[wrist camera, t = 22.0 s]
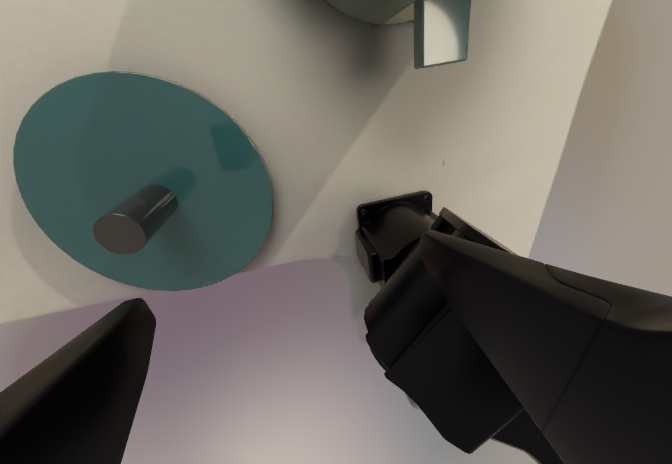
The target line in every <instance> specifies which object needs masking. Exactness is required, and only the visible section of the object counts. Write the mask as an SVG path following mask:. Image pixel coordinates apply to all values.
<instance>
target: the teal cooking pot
mask: <svg viewBox="0 0 672 464" xmlns="http://www.w3.org/2000/svg"><path fill="white" fill-rule="evenodd" d="M325 1H326V2H327V3H328V4H330V5H331V6H333V7H334V8H336V9H337V10H339V11H340V12H342V13H344V14H346V15H348V16H350V17H353V18H355V19H357V20H361V21H364V22H368V23H373V24H378V25H387V24H400V23H404V22H408V21H412V20H414V68H415V69H421V68H427V67H433V66H439V65H445V64H450V63H456V62H462V61H465V60H466V59H467V49H468V35H469V20H470V6H471V0H325Z"/></svg>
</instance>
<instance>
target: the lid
mask: <svg viewBox="0 0 672 464" xmlns="http://www.w3.org/2000/svg"><path fill="white" fill-rule="evenodd" d="M14 171H15V177H16V182H17V185H18V188H19V191H20V194H21V197H22V199H23V201H24V203H25V205H26V207H27V209H28V211H29V212H30V214H31V215H32V217H33V218H34V220H35V221H36V223H37V224H38V226H39V227H40V228H41V229H42V230H43V231H44V233H45V234H46V235H47V236H48V237H49V238H50V239H51V240H52V241H53V242H54V243H55V244H56V245H57V246H58V247H59V248H60V249H61V250H63V251H64V252H65V253H67V254H68V255H69V256H71V257H72V258H73V259H74V260H76V261H78V262H79V263H81V264H82V265H84V266H86V267H87V268H89V269H91V270H93V271H95V272H97V273H99V274H101V275H103V276H105V277H108V278H110V279H113V280H115V281H118V282H121V283H124V284H128V285H131V286H136V287H140V288H145V289H153V290H166V291H169V290H170V291H177V290H189V289H195V288H201V287H204V286H208V285H211V284H214V283H217V282H219V281H221V280H224V279H226V278H228V277H229V276H231V275H233V274H235V273H236V272H238V271H239V270H240V269H242V268H243V267H244V266H245V265H246V264H247V263H249V262H250V261H251V260H252V259H253V257H254V256H255V255H256V254H257V252H258V251H259V250H260V248H261V246H262V245H263V243H264V241H265V239H266V237H267V234H268V232H269V229H270V225H271V220H272V213H273V191H272V186H271V181H270V176H269V174H268V171H267V168H266V165H265V163H264V161H263V159H262V157H261V155H260V153H259V151H258V149H257V147H256V146H255V144H254V143H253V141H252V140H251V138H250V137H249V136H248V134H247V133H246V132H245V131H244V130H243V128H242V127H241V126H240V125H239V124H238V123H237V122H236V121H235V120H234V119H233V118H232V117H231V116H230V115H229V114H228V113H227V112H225V111H224V110H223V109H222V108H220V107H219V106H218V105H216V104H215V103H214V102H212V101H211V100H209V99H208V98H206V97H204V96H202V95H201V94H199V93H197V92H196V91H194V90H192V89H189V88H187V87H185V86H183V85H180V84H178V83H176V82H173V81H170V80H166V79H163V78H160V77H157V76H151V75H146V74H141V73H135V72H118V71H111V72H99V73H91V74H87V75H83V76H79V77H75V78H73V79H70V80H68V81H65V82H63V83H61V84H58V85H57V86H55V87H54V88H52V89H51V90H49V91H48V92H46V93H45V94H43V95H42V96H41V97H40V98H39V99H38V100H37V101H36V102H35V103H34V104H33V105H32V106H31V108H30V109H29V111H28V112H27V114H26V115H25V116H24V118H23V120H22V122H21V124H20V127H19V129H18V132H17V134H16V139H15V145H14Z"/></svg>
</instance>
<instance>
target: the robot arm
mask: <svg viewBox="0 0 672 464" xmlns="http://www.w3.org/2000/svg"><path fill="white" fill-rule="evenodd" d="M426 195H427V198H426V199H424V196H426ZM362 209H365V211H364V212H363V213H361V210H362ZM356 212H357V220H358V228H359V229H357V230H356V231H355V237H356V244H357V252H358V256H359V258H360V261H361V263H362V265H363V267H364V269H365V271H366V273H367V275H368V277H369V279H370V281H371V282H373V283H376V282H379V284H380V286H381V289H380V291H379V292H378V293H377V295H376V296H375V297H374V298H373V299H372V300H371V301H370V303H369V305H368V306H367V307H366V309H365V313H364V320H365V323H366V327H367V330H368V333H367V334H366V340H367V343H368V345H369V346H370V349H371V352H372V353H373V355H374V357H375V358H376V360H377V361H378V363H379V364H380V365H381V366H382V367H383V369H384V370H385V371H386V372H385V373H384V374H385V377H386V378H387V379H388V380H390V381H391V382H392V383H394V384H395V385H396V386H398V387H399V388H400V389H402V390H403V391H404V392H405V393H406V394H407V395H408V396H409V397H410V398H411V399H412V400H413V401H414V402H415V403H416V404H417V405H418V406H419V408H420V409H421V410H422V411H423V412H424V413H425V415H426V416H427V417H428V419H429V420H430V421H431V422H432V424H433V425H434V426H435V428H436V429H437V430H438V431H439V433H440V434H441V435H442V437H443V438H444V439H445V440H447V441H448V442H450V443H451V444H453V445H455V446H456V447H458V448H459V449H461V450H462V451H464V452H466V453H468V454H471V453H473V452H474V451H475V450H477V449H478V448H479V447H480V446H481V445H483V444H484V443H485V442H486V441H487V440H489V439H492V440H494V441H497V442H500V443H503V444H505V445H508V446H510V447H513V448H516V449H519V450H521V451H523V452H525V453H527V454H528V455H529V456H530V457H531V458H532V459H534V460H535V461H536V462H537V463H538V464H672V297H670V296H667V295H663V294H659V293H654V292H650V291H646V290H642V289H638V288H634V287H630V286H626V285H622V284H618V283H614V282H610V281H606V280H602V279H599V278H595V277H591V276H587V275H583V274H579V273H576V272H572V271H569V270H565V269H561V268H558V267H555V266H552V265H548V264H545V265H544V264H543V263H541V262H538V261H534V260H531V259H528V258H525V257H521V256H518V255H517V254H515V253H514V252H512V251H511V250H509V249H508V248H506V247H505V246H503V245H502V244H500V243H499V242H497V241H496V240H494V239H493V238H491V237H490V236H488V235H487V234H485V233H484V232H482V231H481V230H479V229H478V228H476V227H474V226H473V225H471V224H470V223H468V222H467V221H465V220H464V219H462V218H460V217H459V216H457V215H456V214H454V213H453V212H451V211H450V210H448V209H446V208H445V207H444V208H443V209H442V210H441V211H440V213H439V214H440V215H439V216H437V215H436V214H435V213H433V212H432V194H431V193H430V192H428V191H421V192H416V193H412V194H407V195H402V196H398V197H393V198H388V199H384V200H379V201H374V202H370V203H365V204H361V205H359V206H358V207H357V210H356ZM155 327H156V319H155V317H154V315H153V313H152V311H151V310H150V308H149V307H148V305H147V304H146V302H145V301H144V300H143V299H142V298H136V299H131V300H127V301H124V302H123V303H121V304H120V305H119V306H117V307H116V308H115V309H113V310H112V311H111V312H109V313H108V314H106V315H105V316H104V317H102V318H101V319H100V320H98V321H97V322H96V323H94V324H93V325H92V326H90V327H89V328H87V329H86V330H85V331H83V332H82V333H81V334H79V335H78V336H77V337H75V338H74V339H72V340H71V341H70V342H68V343H67V344H66V345H64V346H63V347H62V348H60V349H59V350H58V351H56V352H55V353H53V354H52V355H51V356H49V357H48V358H47V359H45V360H44V361H43V362H41V363H40V364H39V365H37V366H36V367H34V368H33V369H32V370H30V371H29V372H28V373H26V374H25V375H23V376H22V377H21V378H19V379H18V380H17V381H15V382H14V383H13V384H11V385H10V386H8V387H7V388H6V389H4V390H3V391H2V392H0V464H121V461H122V457H123V454H124V450H125V447H126V444H127V440H128V437H129V434H130V430H131V427H132V423H133V420H134V417H135V413H136V410H137V406H138V403H139V399H140V396H141V393H142V390H143V386H144V383H145V379H146V375H147V371H148V366H149V361H150V355H151V350H152V344H153V339H154V332H155Z"/></svg>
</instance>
